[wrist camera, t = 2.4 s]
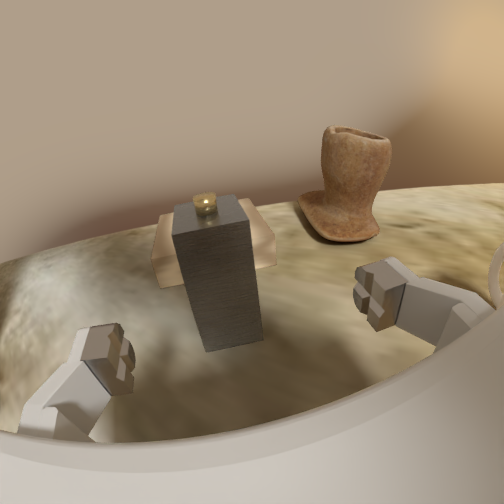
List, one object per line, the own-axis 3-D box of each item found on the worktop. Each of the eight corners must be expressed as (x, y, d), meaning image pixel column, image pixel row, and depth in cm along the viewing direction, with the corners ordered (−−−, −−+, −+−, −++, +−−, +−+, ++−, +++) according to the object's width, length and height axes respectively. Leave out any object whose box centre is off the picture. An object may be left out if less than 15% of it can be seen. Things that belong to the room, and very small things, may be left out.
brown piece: (399, 243, 34) (408, 133, 27) (319, 253, 34) (316, 131, 27) (359, 204, 47) (359, 122, 40) (296, 210, 48) (291, 123, 40)
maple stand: (160, 288, 31) (150, 259, 29) (165, 238, 43) (160, 215, 41) (276, 264, 33) (274, 234, 31) (251, 221, 45) (248, 198, 43)
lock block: (206, 352, 22) (166, 217, 16) (200, 308, 27) (171, 191, 21) (263, 339, 23) (247, 201, 17) (248, 298, 28) (232, 180, 22)
